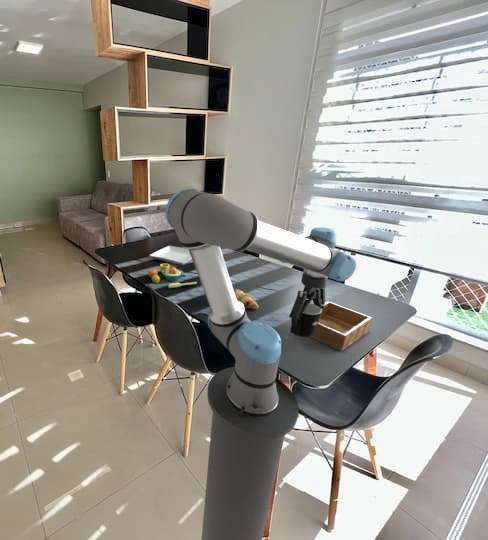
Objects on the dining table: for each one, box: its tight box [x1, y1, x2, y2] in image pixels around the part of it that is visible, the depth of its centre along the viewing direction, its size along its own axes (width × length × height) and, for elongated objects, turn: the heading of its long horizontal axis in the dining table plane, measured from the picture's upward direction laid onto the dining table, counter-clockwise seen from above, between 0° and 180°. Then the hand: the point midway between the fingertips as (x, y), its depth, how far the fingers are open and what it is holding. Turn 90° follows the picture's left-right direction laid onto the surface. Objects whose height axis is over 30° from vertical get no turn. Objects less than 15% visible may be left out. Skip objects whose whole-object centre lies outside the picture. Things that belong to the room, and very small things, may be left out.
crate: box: [309, 300, 373, 352], centre depth 116 cm, size 22×17×7 cm
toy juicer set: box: [148, 262, 198, 289], centre depth 164 cm, size 29×18×8 cm, turn 36°
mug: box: [290, 302, 321, 338], centre depth 104 cm, size 12×9×10 cm
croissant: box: [233, 288, 259, 310], centre depth 139 cm, size 21×10×8 cm, turn 45°
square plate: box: [149, 245, 192, 266], centre depth 202 cm, size 27×27×4 cm
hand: (303, 328), depth 106 cm, fingers closed on mug, 12 cm apart
